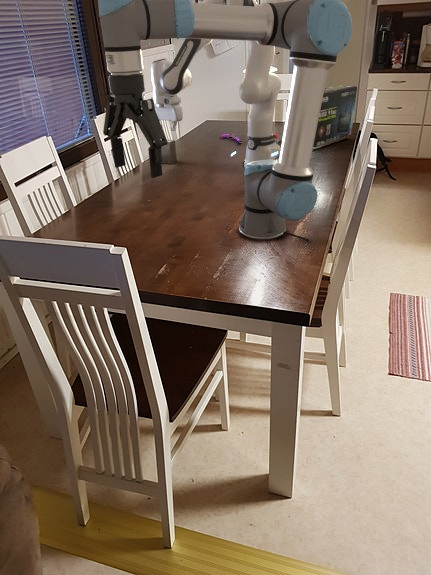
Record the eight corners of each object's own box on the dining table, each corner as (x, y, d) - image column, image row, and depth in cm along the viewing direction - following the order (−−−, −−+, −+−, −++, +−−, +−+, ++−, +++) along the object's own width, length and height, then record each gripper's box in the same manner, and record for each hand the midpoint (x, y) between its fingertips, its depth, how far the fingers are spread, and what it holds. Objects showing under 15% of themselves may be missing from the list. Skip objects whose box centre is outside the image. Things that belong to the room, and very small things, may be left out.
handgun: (221, 137, 264) (220, 133, 263) (234, 136, 265) (233, 132, 264) (228, 145, 247) (228, 142, 246) (242, 144, 248) (242, 140, 247)
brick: (166, 160, 227) (164, 138, 222) (176, 161, 225) (175, 139, 220) (160, 162, 224) (158, 141, 218) (171, 164, 221) (169, 142, 216)
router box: (314, 151, 231) (318, 94, 217) (296, 148, 237) (299, 92, 224) (352, 138, 251) (358, 85, 238) (335, 135, 258) (340, 83, 245)
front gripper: (78, 72, 103) (94, 165, 114) (150, 78, 88) (161, 185, 99) (105, 68, 108) (118, 159, 118) (178, 73, 93) (185, 176, 104)
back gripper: (143, 98, 214) (147, 129, 221) (173, 100, 201) (176, 133, 208) (153, 96, 218) (157, 126, 225) (183, 98, 205) (186, 130, 212)
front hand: (138, 171), depth 109 cm, fingers open, 13 cm apart
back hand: (166, 129), depth 216 cm, fingers open, 8 cm apart
